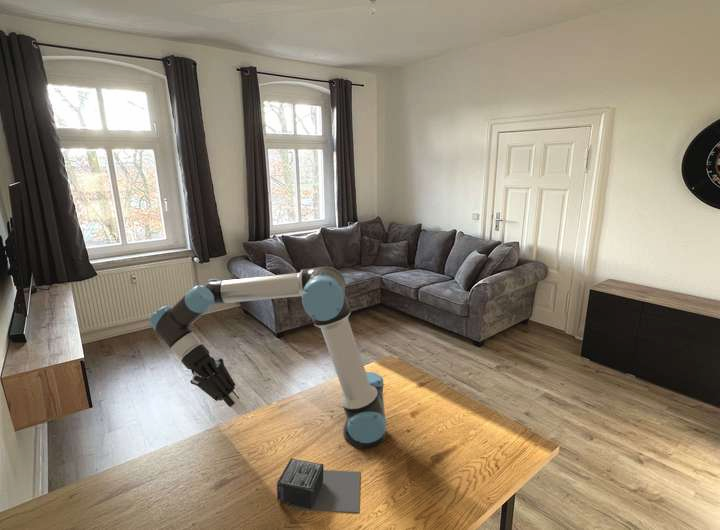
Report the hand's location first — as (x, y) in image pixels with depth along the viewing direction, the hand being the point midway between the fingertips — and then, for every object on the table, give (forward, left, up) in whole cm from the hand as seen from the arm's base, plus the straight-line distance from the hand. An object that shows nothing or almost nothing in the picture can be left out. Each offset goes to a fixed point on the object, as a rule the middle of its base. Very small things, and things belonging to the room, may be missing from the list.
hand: (242, 411), depth 116 cm
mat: (-26, +6, -21) cm, 34 cm away
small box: (-14, +6, -17) cm, 23 cm away
